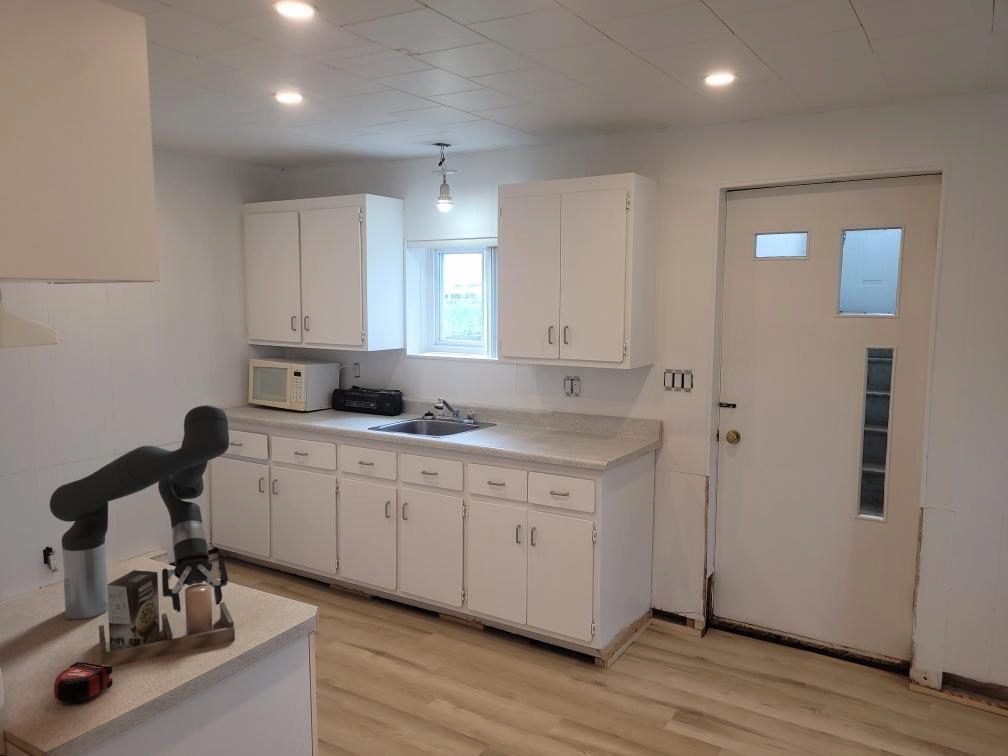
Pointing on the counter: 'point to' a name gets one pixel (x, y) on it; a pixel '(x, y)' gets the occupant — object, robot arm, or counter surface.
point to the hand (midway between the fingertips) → (198, 606)
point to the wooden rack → (168, 642)
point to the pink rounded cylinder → (198, 609)
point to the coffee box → (133, 610)
